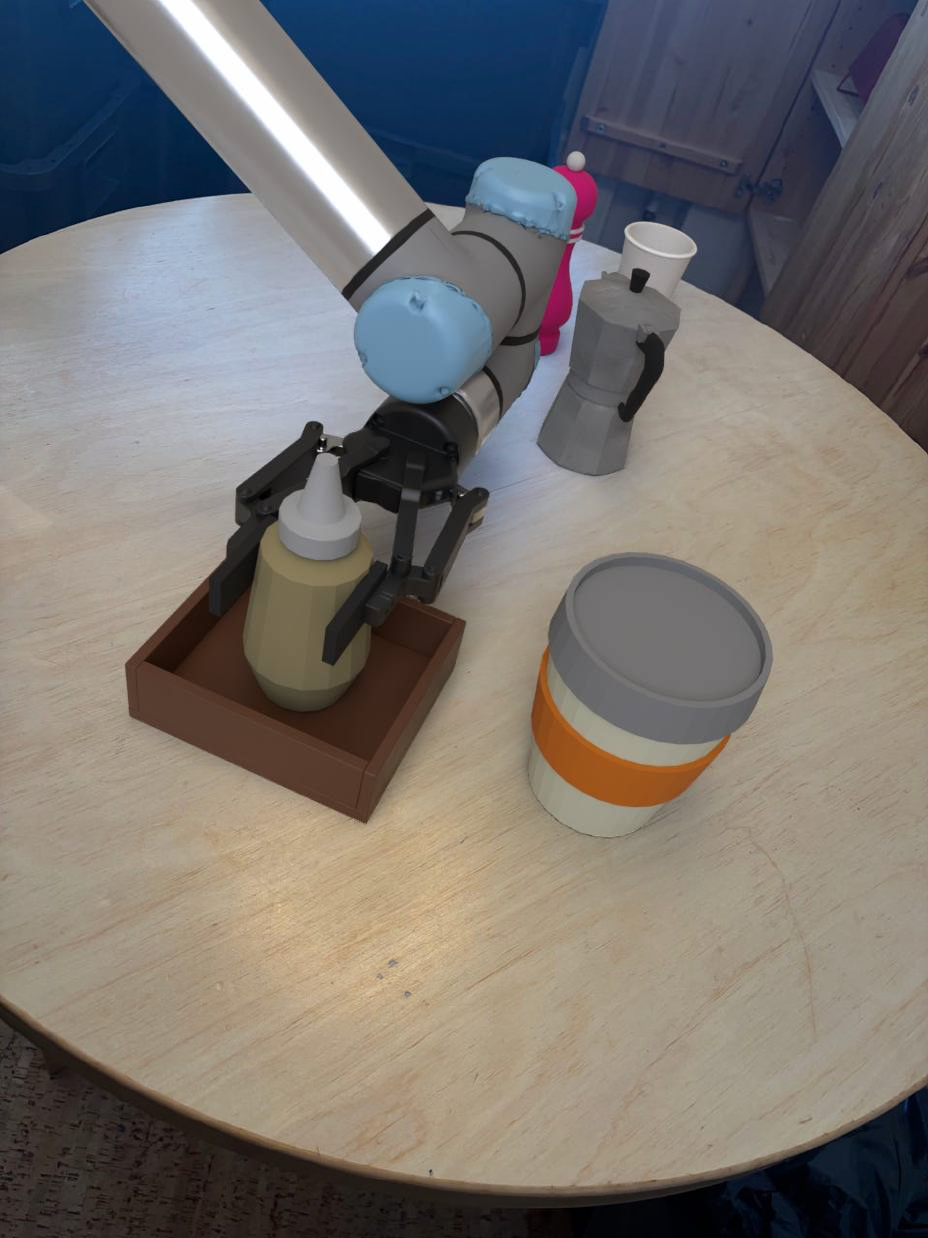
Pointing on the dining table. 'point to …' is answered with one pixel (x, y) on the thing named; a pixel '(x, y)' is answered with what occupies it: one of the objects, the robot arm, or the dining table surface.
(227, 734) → the brown tray
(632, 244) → the dixie cup
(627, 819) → the reusable coffee cup
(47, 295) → the dining table surface
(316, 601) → the squeeze bottle
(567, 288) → the pepper mill
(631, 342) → the coffeepot
